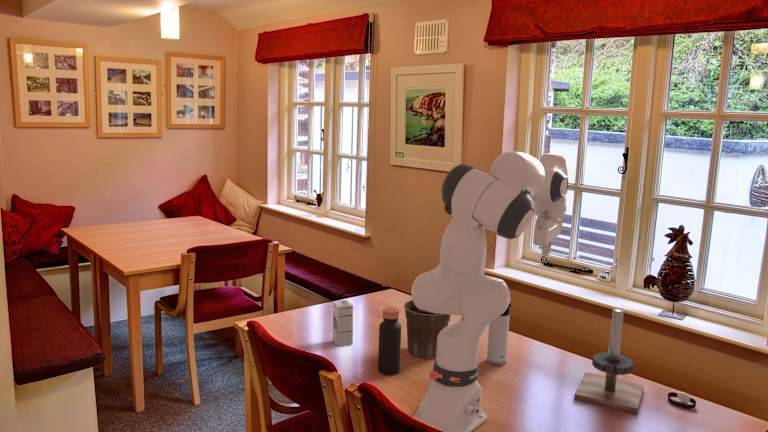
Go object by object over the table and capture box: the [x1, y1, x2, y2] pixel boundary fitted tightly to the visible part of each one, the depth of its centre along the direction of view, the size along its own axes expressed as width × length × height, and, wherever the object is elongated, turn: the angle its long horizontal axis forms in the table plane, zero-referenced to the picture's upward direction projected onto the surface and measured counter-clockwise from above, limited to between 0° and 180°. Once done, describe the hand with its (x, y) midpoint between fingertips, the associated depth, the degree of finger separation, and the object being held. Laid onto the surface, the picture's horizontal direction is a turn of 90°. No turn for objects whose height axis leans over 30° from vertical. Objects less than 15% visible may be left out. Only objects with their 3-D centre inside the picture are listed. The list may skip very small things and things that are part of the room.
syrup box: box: [332, 299, 354, 347], centre depth 218 cm, size 6×6×14 cm
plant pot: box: [403, 299, 451, 359], centre depth 212 cm, size 16×16×16 cm
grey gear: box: [591, 352, 635, 376], centre depth 185 cm, size 11×11×2 cm
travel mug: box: [486, 302, 512, 366], centre depth 206 cm, size 6×7×20 cm
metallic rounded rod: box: [605, 308, 625, 391], centre depth 184 cm, size 3×3×24 cm
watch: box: [667, 391, 697, 410], centre depth 182 cm, size 8×5×4 cm, turn 45°
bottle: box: [377, 306, 402, 376], centre depth 196 cm, size 7×7×20 cm
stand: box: [573, 371, 645, 416], centre depth 186 cm, size 17×17×2 cm
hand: (545, 254), depth 190 cm, fingers closed
